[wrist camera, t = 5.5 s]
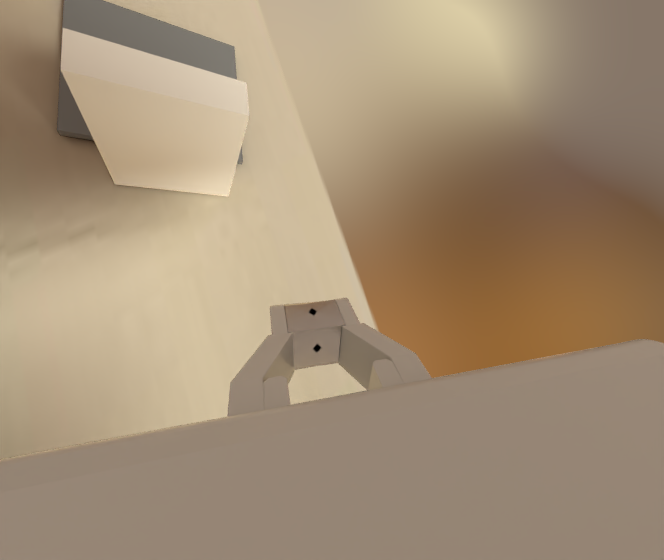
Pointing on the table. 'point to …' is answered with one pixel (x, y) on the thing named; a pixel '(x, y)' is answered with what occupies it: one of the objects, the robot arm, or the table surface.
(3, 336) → the table surface
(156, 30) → the charcoal mat
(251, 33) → the table surface
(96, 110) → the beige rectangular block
